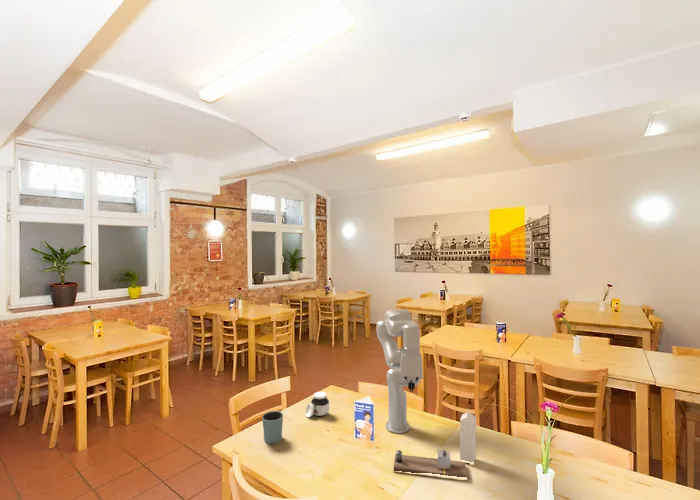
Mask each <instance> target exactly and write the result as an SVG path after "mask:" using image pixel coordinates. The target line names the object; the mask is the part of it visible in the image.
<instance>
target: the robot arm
mask: <svg viewBox="0 0 700 500" xmlns="http://www.w3.org/2000/svg"><path fill="white" fill-rule="evenodd" d="M375 330H376V336H377V338H378V341H379V342H380V344H381V346H382V349H383V350H382V351H383V354H384V358H385V363H386V366H387V367H389V368H390V369H388V370H387V372H386V381H387V392H388V395H387V397H388V398H387V399H388V421H387V422H386V423H385V429H386V430H387V431H389V432H390V433H393V432H394V434H404V432H405V433H407V432H409V431H410V429H411V428H410V427H411V426H410V424H409V423H408V420H407V405H408V404H407V401H408V399H407V397H408V396H407V393H406V391H405V390H404V389H403V387H407V388H408V390H409V392H414V390H416V389H415V388H416V387H415V386H418V385H419V384H420V382H421V380H423V379H424V374H423V372H424V369H423V357H422V353H421V351H420V350H421V348H420V347H421V345H420V342H421V339H420V338H421V337H420V336H421V335H420V332H421V331H420V330H421V328H420V326H419V325H418V323H417V321H415V320H412V313H411V311H409V310H408V309H406V308H395V309H387V311H386V312H385V313H384V320H379V321H378V322H376V326H375ZM399 337H402V338H403V341H402V342H403V346H402V347H400V348H399V345H398V342H397V341H396V340H395V338H399ZM409 428H410V429H409Z"/></svg>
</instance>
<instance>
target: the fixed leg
mask: <svg viewBox="0 0 700 500" xmlns="http://www.w3.org/2000/svg"><path fill="white" fill-rule="evenodd" d="M395 454H396V461H397V462H399V463H400V462H402V455H403V452H402V450H400V449H399V450H396V451H395Z"/></svg>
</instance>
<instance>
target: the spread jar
mask: <svg viewBox="0 0 700 500" xmlns="http://www.w3.org/2000/svg"><path fill="white" fill-rule="evenodd" d="M329 412H330V400H329V398H327V393H326V392H324V391H317V392H314V394H313V398H312V399H311V400H310V403H308V404H307V405H306V406H305V417H307V418H311V417H313V416H314V417H315V418H324V417H326V416H327V415H328V414H329Z"/></svg>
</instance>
